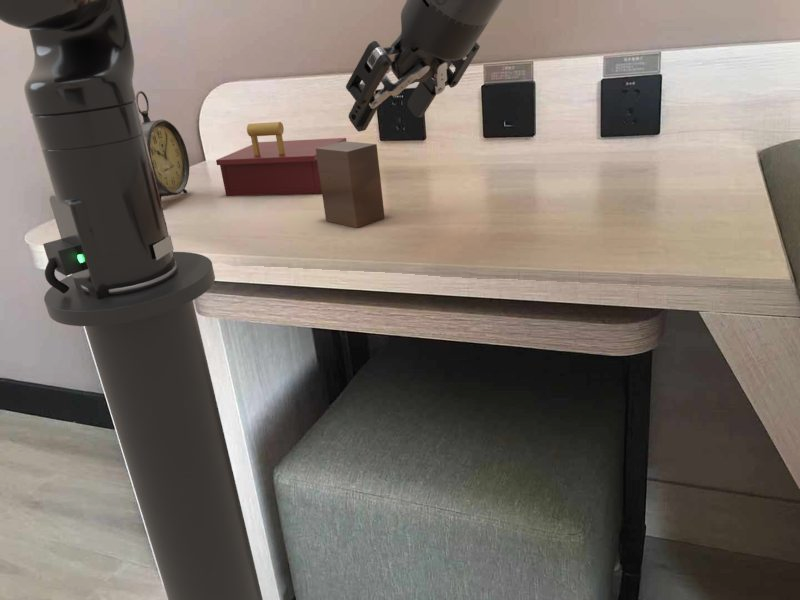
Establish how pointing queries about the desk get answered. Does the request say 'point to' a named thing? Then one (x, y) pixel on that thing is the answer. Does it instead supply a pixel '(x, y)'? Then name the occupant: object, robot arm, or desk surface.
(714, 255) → the desk surface
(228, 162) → the box lid
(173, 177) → the alarm clock
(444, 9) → the robot arm
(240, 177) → the box base
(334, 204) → the bookend
